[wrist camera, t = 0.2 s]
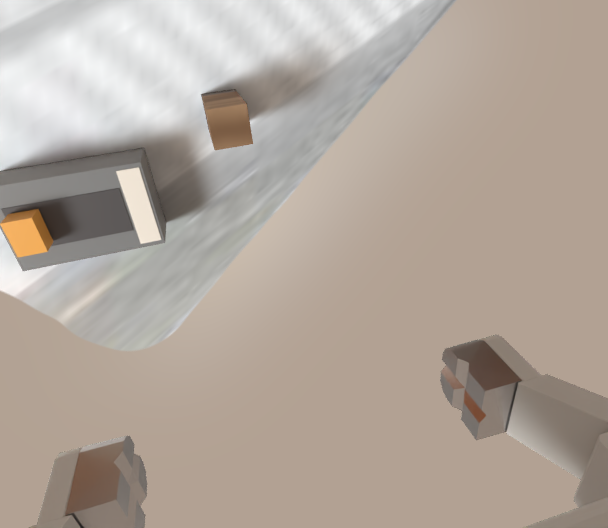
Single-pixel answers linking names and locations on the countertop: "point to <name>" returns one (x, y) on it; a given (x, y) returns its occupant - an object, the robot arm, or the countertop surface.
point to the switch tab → (27, 233)
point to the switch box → (87, 205)
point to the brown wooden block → (227, 119)
